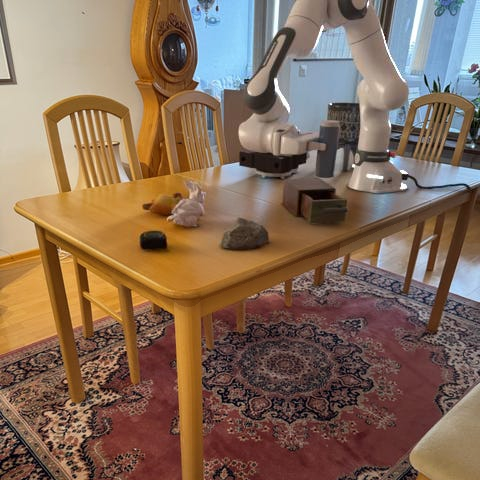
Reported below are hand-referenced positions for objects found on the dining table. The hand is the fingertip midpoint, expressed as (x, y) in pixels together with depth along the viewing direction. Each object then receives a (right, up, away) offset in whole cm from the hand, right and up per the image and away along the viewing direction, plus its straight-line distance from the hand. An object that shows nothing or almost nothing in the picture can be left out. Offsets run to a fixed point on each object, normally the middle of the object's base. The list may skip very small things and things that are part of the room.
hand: (330, 145), depth 130 cm
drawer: (-1, -19, +10) cm, 21 cm away
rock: (-24, -30, -8) cm, 39 cm away
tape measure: (-48, -32, -12) cm, 59 cm away
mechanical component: (-8, +13, +67) cm, 69 cm away
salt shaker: (-1, -7, +5) cm, 9 cm away
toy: (-50, -15, +16) cm, 54 cm away
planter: (+22, +21, +80) cm, 86 cm away
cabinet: (-4, -13, +21) cm, 25 cm away
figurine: (-42, -22, +5) cm, 47 cm away
